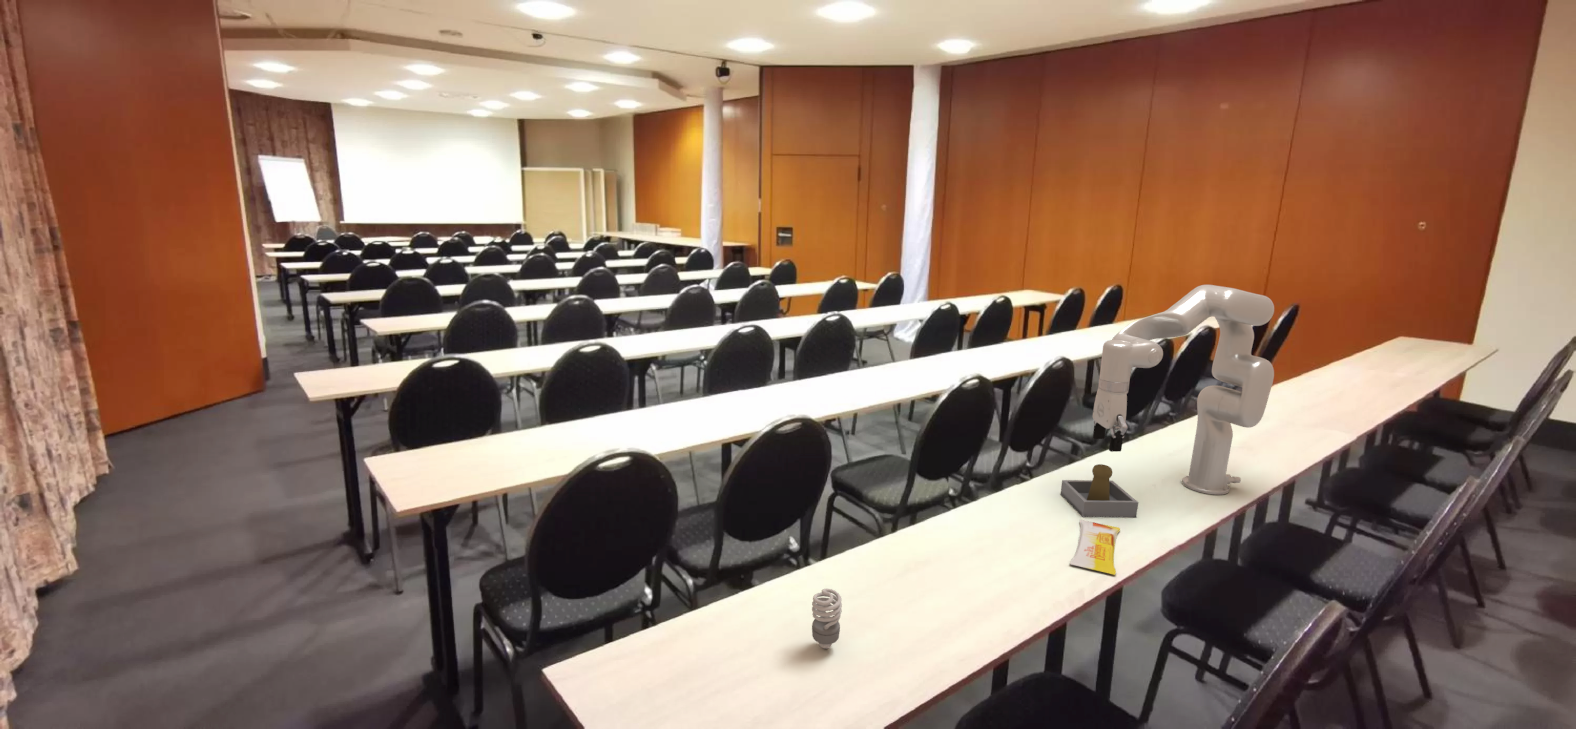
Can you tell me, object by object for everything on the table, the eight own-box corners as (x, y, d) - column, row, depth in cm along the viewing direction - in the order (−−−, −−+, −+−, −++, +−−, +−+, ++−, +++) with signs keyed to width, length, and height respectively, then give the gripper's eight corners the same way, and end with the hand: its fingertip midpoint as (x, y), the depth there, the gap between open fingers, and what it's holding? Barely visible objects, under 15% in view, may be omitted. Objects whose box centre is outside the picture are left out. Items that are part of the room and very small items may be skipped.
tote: (1110, 494, 211) (1112, 480, 210) (1136, 517, 196) (1138, 502, 195) (1060, 494, 210) (1062, 480, 209) (1082, 517, 196) (1084, 501, 195)
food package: (1116, 570, 165) (1070, 559, 169) (1114, 579, 165) (1069, 568, 170) (1120, 523, 189) (1080, 515, 193) (1119, 531, 189) (1079, 523, 194)
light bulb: (808, 639, 140) (810, 584, 137) (837, 638, 140) (839, 583, 137) (812, 657, 134) (814, 600, 131) (841, 656, 135) (844, 599, 132)
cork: (1112, 507, 200) (1117, 470, 197) (1089, 505, 201) (1094, 468, 198) (1106, 498, 206) (1111, 462, 203) (1084, 496, 207) (1089, 460, 204)
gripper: (1086, 377, 203) (1080, 434, 207) (1115, 394, 186) (1107, 456, 191) (1112, 377, 203) (1105, 434, 208) (1143, 394, 187) (1135, 456, 191)
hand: (1106, 444), depth 199 cm, fingers open, 9 cm apart
